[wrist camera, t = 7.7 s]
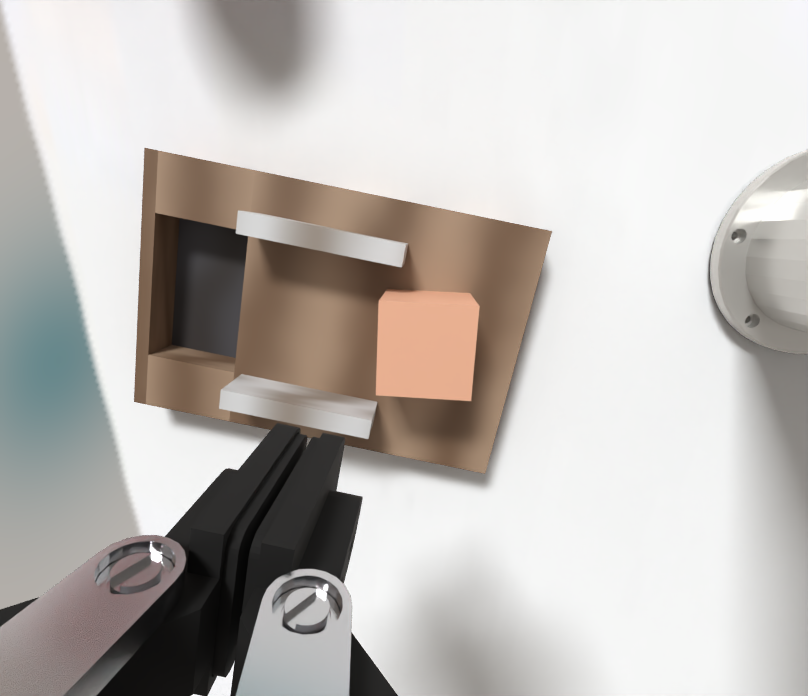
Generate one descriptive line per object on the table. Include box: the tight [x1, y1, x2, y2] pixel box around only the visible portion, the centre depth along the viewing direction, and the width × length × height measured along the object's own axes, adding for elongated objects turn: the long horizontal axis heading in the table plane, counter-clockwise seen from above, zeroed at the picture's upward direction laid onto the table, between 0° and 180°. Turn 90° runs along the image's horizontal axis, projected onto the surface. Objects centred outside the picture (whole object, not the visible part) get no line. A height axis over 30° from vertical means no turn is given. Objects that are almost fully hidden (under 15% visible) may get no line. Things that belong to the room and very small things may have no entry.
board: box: [134, 148, 552, 474], centre depth 27 cm, size 24×16×6 cm, turn 79°
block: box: [376, 289, 480, 401], centre depth 25 cm, size 5×5×5 cm
